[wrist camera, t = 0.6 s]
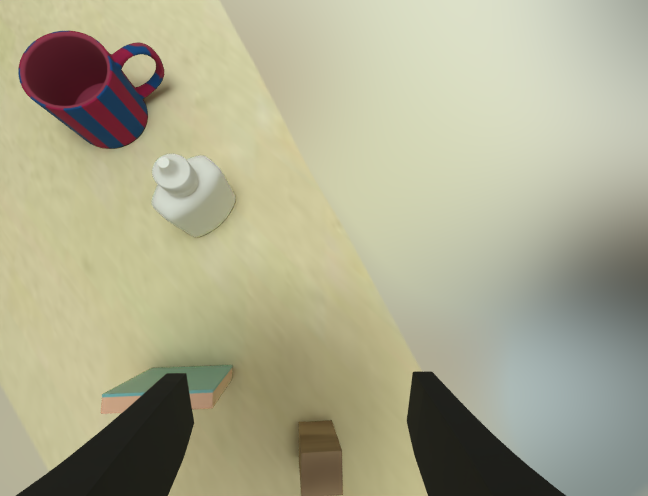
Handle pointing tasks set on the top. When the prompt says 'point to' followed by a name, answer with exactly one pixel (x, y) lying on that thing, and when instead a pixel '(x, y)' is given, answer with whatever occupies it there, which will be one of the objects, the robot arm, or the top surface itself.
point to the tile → (201, 379)
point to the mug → (88, 86)
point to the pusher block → (320, 459)
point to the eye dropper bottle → (191, 193)
